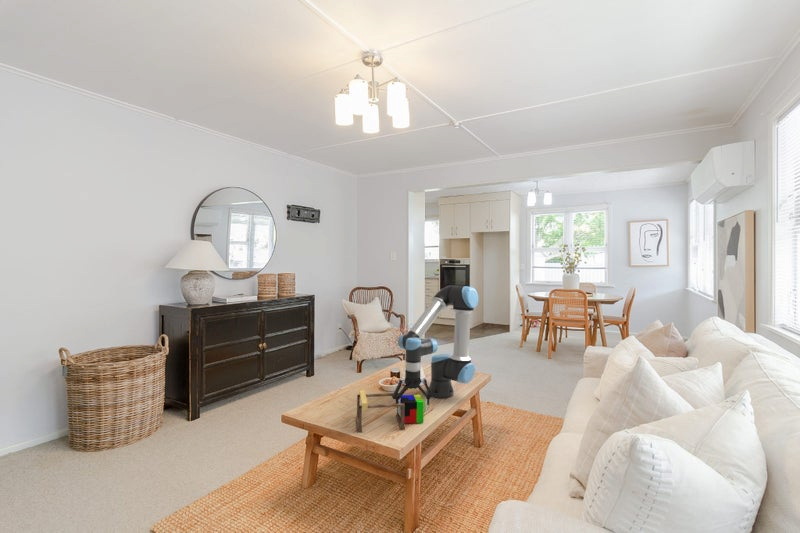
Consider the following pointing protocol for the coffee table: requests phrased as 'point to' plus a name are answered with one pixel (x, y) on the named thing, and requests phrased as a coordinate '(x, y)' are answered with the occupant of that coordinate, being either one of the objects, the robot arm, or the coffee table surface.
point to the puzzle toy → (412, 408)
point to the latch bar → (363, 399)
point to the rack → (359, 408)
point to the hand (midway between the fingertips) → (412, 412)
